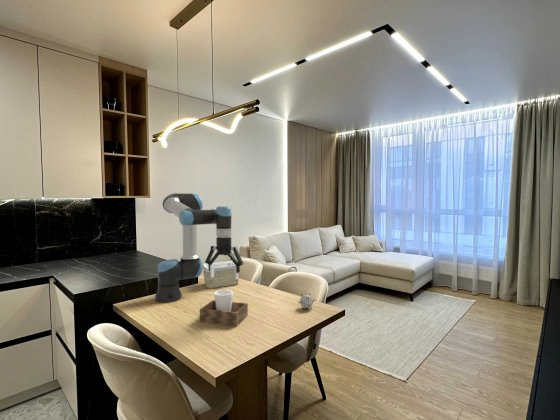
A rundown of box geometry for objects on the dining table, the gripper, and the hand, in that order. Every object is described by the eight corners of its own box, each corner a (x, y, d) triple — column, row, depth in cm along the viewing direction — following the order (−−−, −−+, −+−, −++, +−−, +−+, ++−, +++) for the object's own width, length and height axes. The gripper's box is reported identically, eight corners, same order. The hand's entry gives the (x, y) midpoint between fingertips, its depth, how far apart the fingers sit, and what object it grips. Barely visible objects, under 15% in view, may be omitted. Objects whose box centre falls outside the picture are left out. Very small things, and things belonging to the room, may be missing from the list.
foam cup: (229, 322, 148) (228, 296, 147) (211, 320, 150) (211, 294, 149) (235, 314, 157) (235, 290, 157) (219, 313, 159) (219, 289, 159)
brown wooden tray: (199, 322, 149) (199, 309, 149) (213, 311, 163) (213, 300, 163) (237, 326, 144) (237, 313, 144) (247, 315, 158) (247, 303, 157)
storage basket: (206, 289, 204) (206, 268, 203) (201, 283, 218) (201, 263, 218) (240, 285, 214) (240, 264, 214) (233, 279, 229) (233, 260, 228)
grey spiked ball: (303, 315, 167) (292, 300, 169) (311, 306, 173) (301, 291, 174) (312, 311, 161) (301, 296, 162) (320, 302, 167) (310, 287, 168)
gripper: (198, 236, 152) (198, 278, 153) (244, 238, 146) (244, 281, 147) (205, 235, 160) (205, 274, 160) (249, 236, 153) (249, 277, 154)
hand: (224, 278), depth 153 cm, fingers open, 13 cm apart
